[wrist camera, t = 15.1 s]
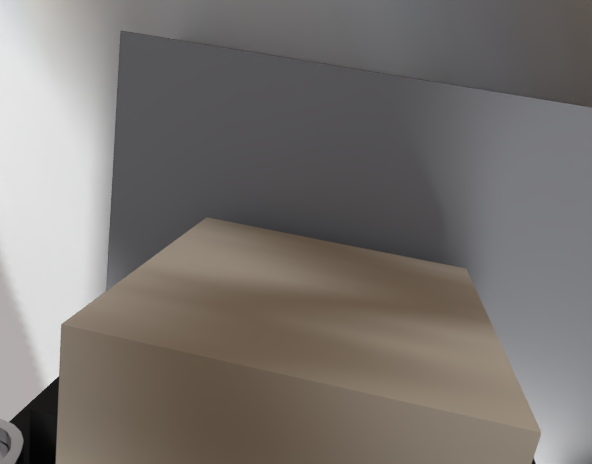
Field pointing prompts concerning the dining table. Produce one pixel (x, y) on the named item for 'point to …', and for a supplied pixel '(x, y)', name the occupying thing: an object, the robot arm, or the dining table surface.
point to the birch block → (288, 360)
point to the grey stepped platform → (375, 189)
